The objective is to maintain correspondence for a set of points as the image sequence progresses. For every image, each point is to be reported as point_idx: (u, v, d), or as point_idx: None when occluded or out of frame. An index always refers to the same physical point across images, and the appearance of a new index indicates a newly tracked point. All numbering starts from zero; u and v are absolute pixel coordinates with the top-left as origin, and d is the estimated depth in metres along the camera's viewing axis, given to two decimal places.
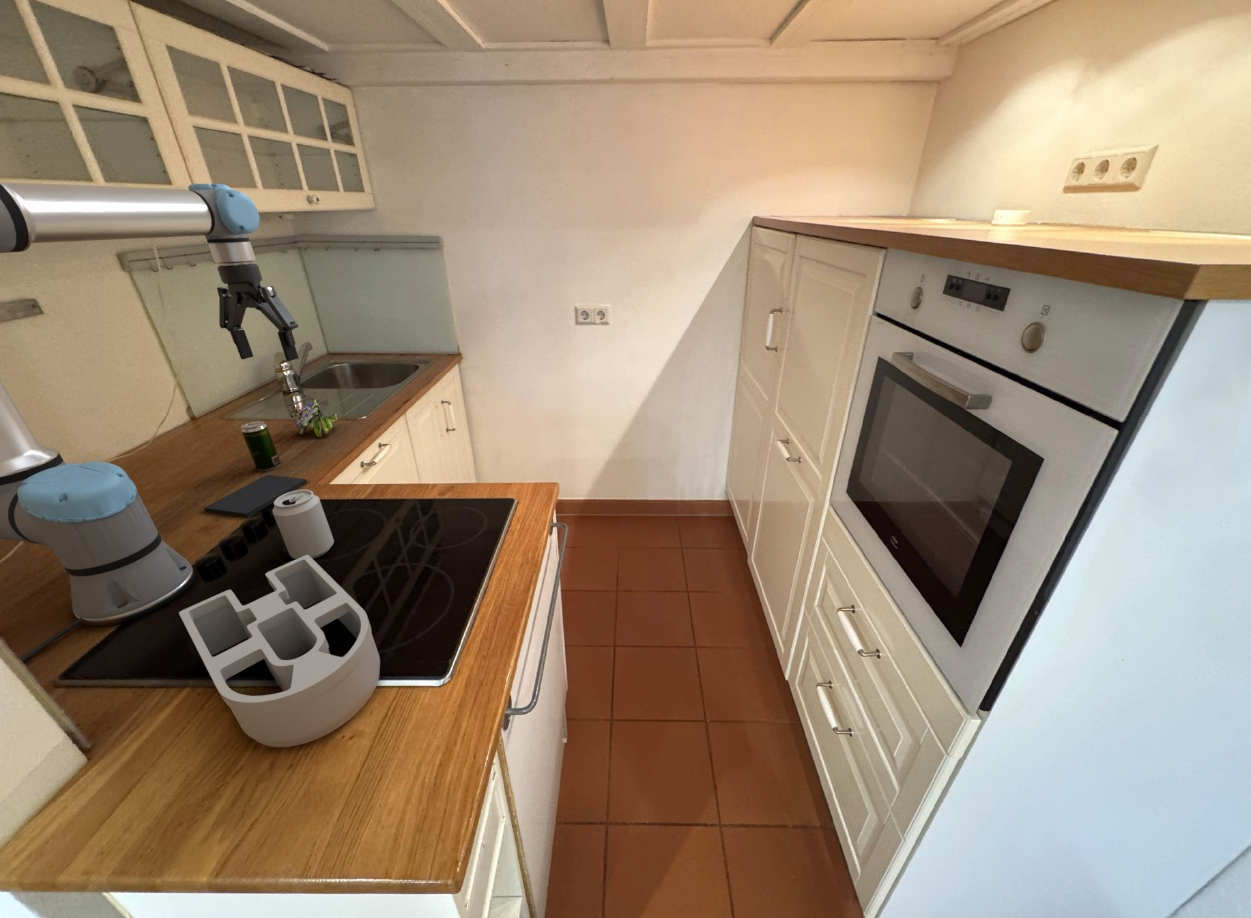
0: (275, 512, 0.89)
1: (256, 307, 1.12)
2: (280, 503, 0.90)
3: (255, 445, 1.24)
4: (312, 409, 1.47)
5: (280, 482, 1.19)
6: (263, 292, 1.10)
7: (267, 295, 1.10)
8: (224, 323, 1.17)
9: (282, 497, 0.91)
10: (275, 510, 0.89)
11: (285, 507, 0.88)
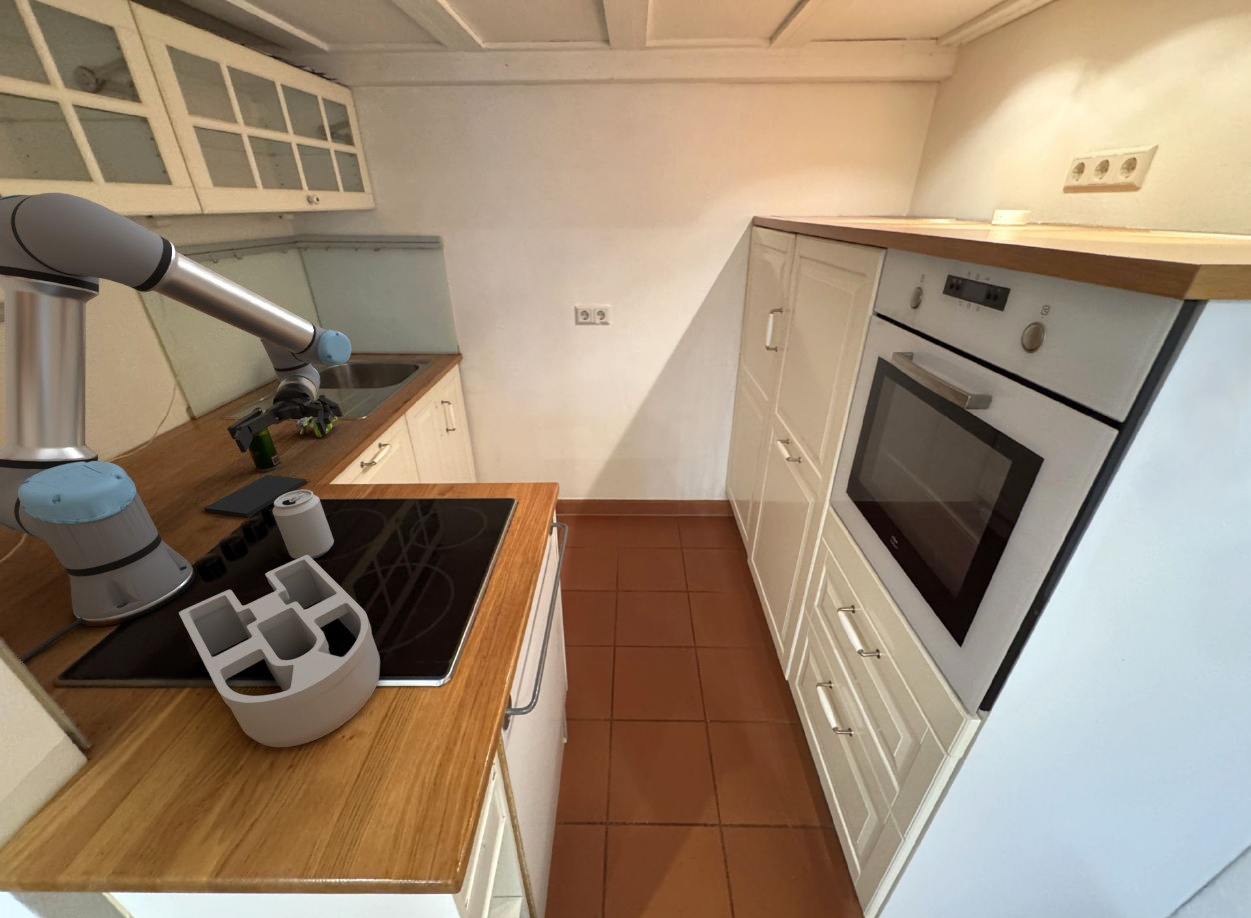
0: (275, 512, 0.89)
1: (304, 402, 1.06)
2: (280, 503, 0.90)
3: (255, 445, 1.24)
4: None
5: (280, 482, 1.19)
6: (321, 396, 1.09)
7: (324, 397, 1.09)
8: (236, 426, 0.99)
9: (282, 497, 0.91)
10: (275, 510, 0.89)
11: (285, 507, 0.88)
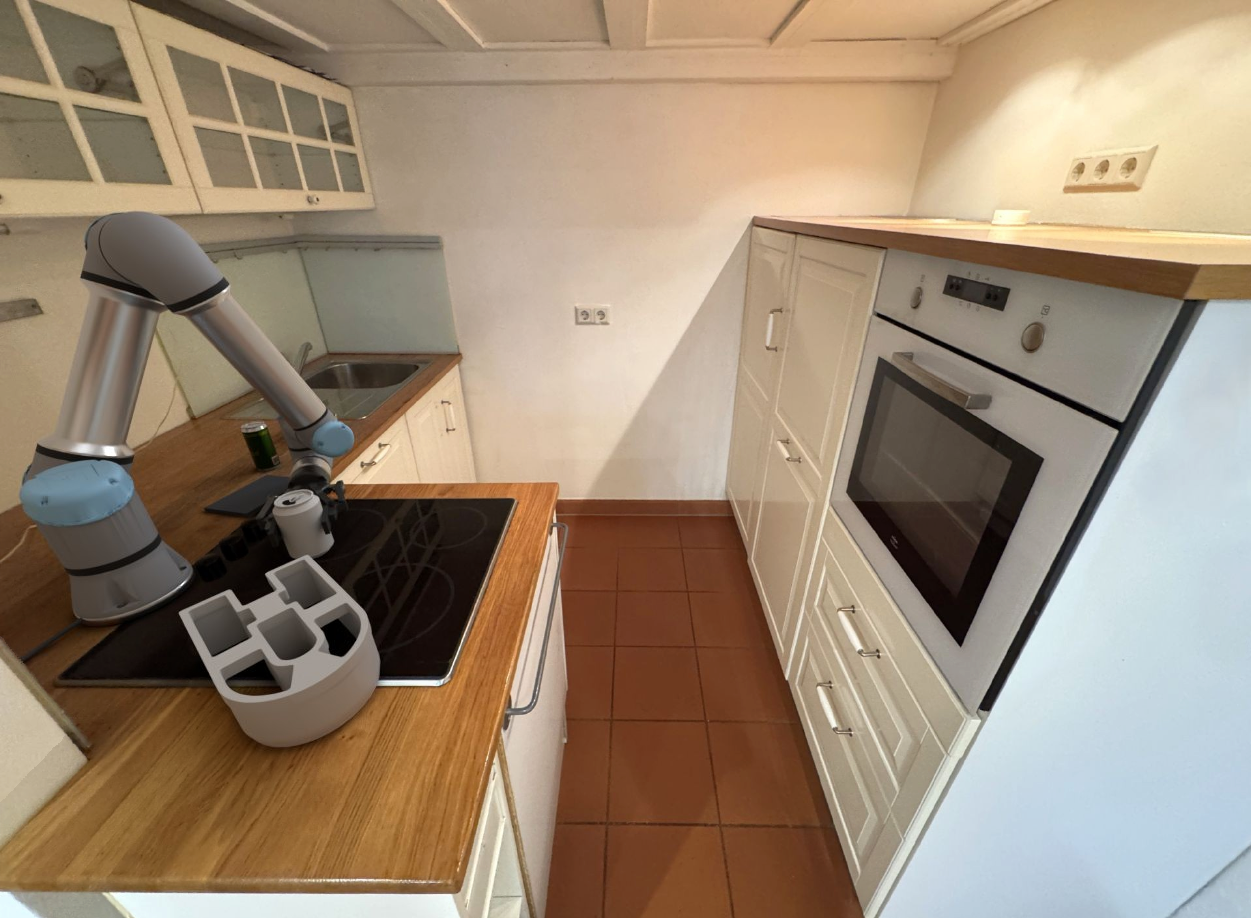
0: (275, 512, 0.89)
1: (317, 490, 1.00)
2: (280, 503, 0.90)
3: (255, 445, 1.24)
4: None
5: (280, 482, 1.19)
6: (338, 482, 1.04)
7: (340, 484, 1.03)
8: (265, 515, 0.93)
9: (282, 497, 0.91)
10: (275, 510, 0.89)
11: (285, 507, 0.88)
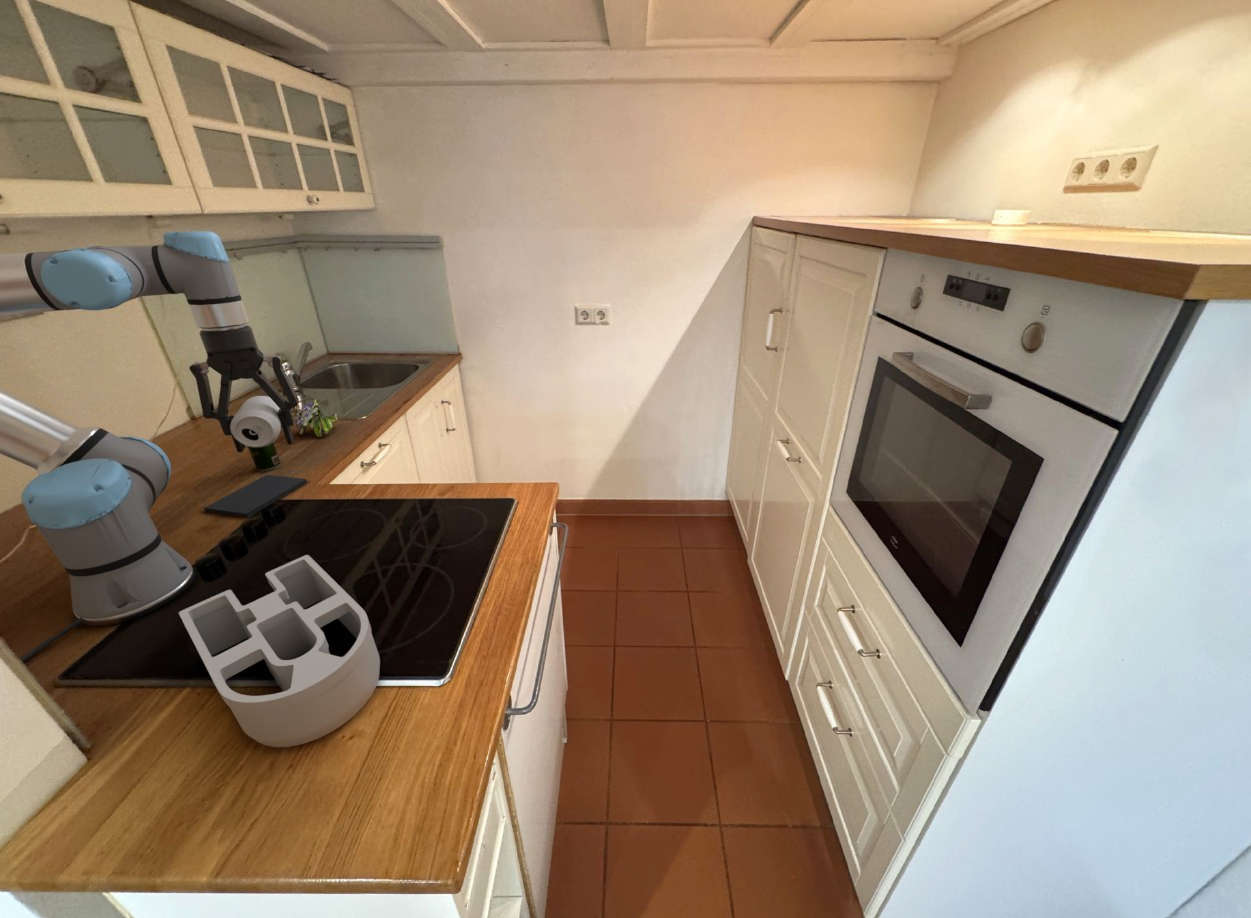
0: (238, 441, 0.92)
1: (256, 380, 0.92)
2: (240, 434, 0.91)
3: None
4: (312, 409, 1.47)
5: (280, 482, 1.19)
6: (275, 362, 0.92)
7: (279, 366, 0.93)
8: (210, 410, 0.91)
9: (237, 424, 0.90)
10: (238, 439, 0.92)
11: None
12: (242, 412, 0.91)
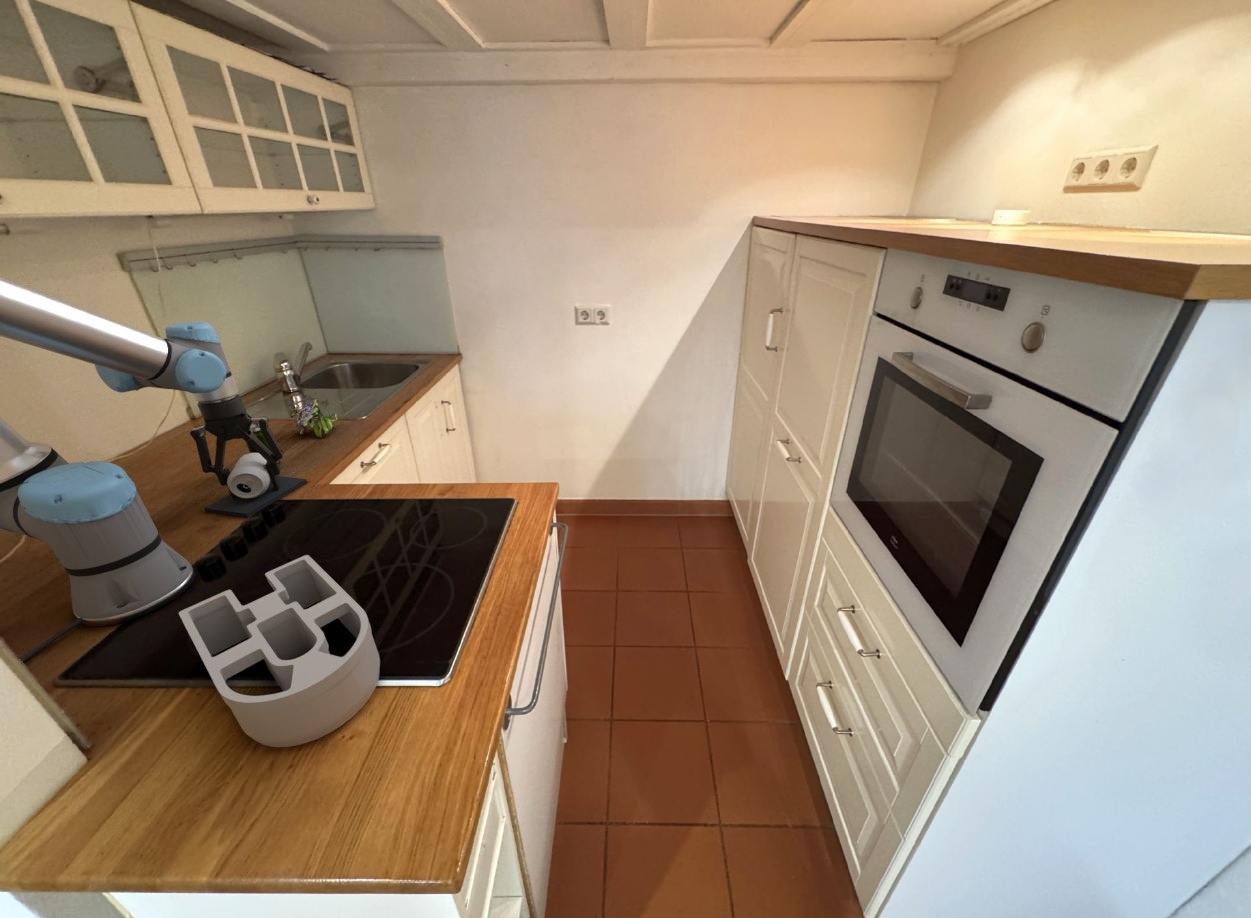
0: None
1: (246, 439, 1.09)
2: (236, 488, 1.09)
3: None
4: (312, 409, 1.47)
5: (280, 482, 1.19)
6: (261, 424, 1.10)
7: (265, 427, 1.10)
8: (208, 466, 1.08)
9: (232, 480, 1.08)
10: None
11: (246, 497, 1.11)
12: (236, 470, 1.09)
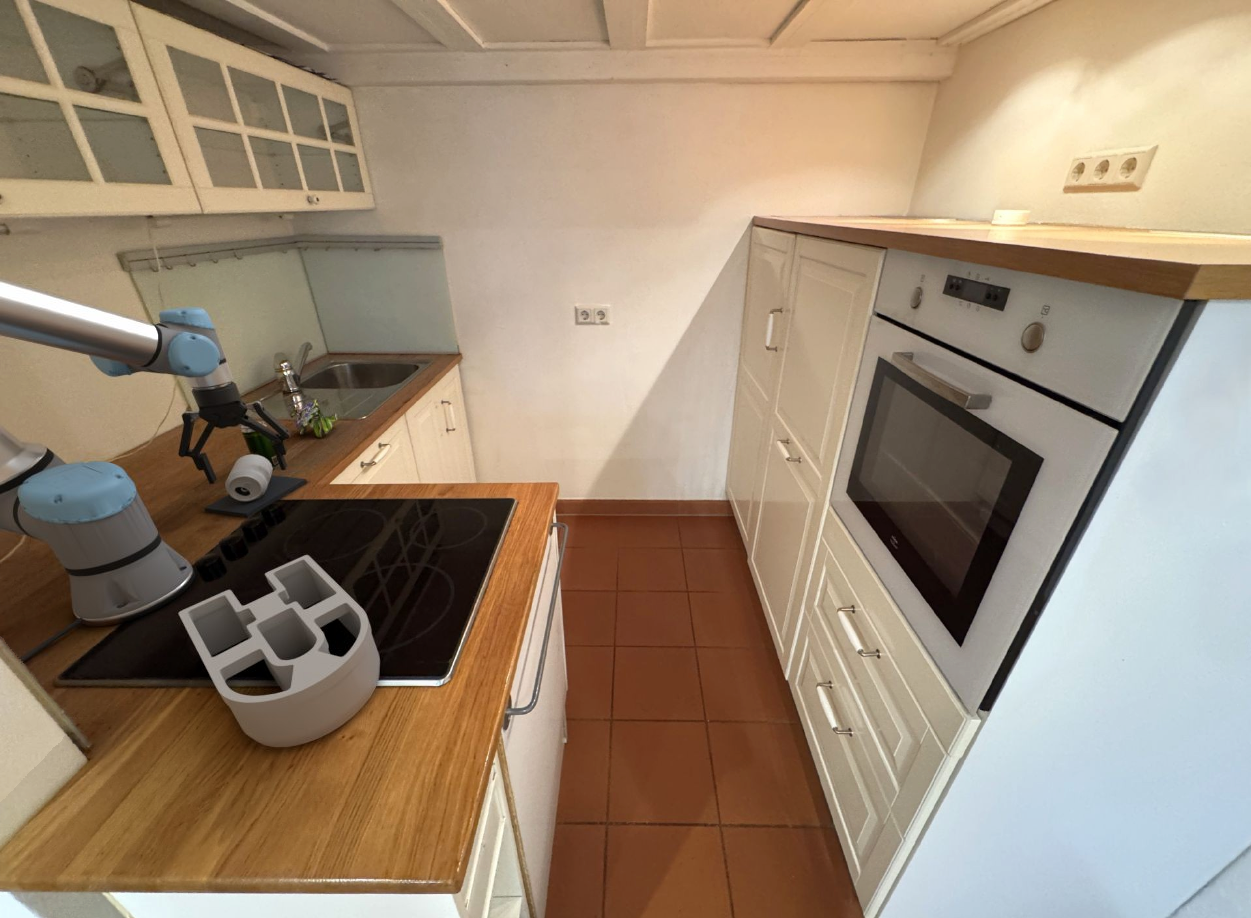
0: None
1: (245, 424, 1.08)
2: (234, 492, 1.09)
3: (255, 445, 1.24)
4: (312, 409, 1.47)
5: (280, 482, 1.19)
6: (256, 407, 1.08)
7: (261, 410, 1.09)
8: (186, 450, 1.06)
9: (230, 484, 1.08)
10: None
11: (246, 500, 1.11)
12: (232, 474, 1.09)
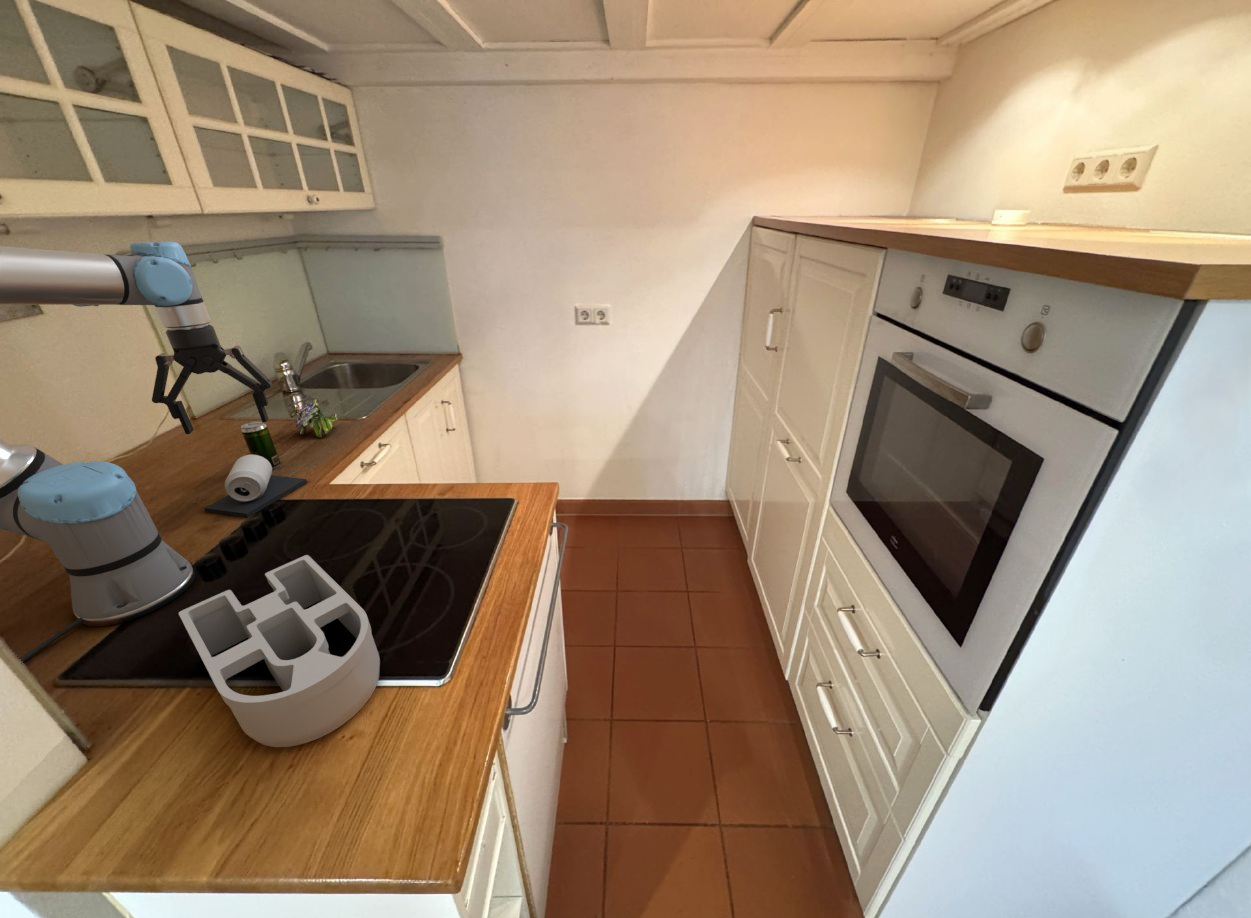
0: None
1: (224, 370, 1.03)
2: (234, 492, 1.09)
3: (255, 445, 1.24)
4: (312, 409, 1.47)
5: (280, 482, 1.19)
6: (235, 353, 1.03)
7: (240, 355, 1.03)
8: (160, 396, 1.00)
9: (229, 485, 1.08)
10: None
11: (246, 500, 1.11)
12: (231, 474, 1.09)
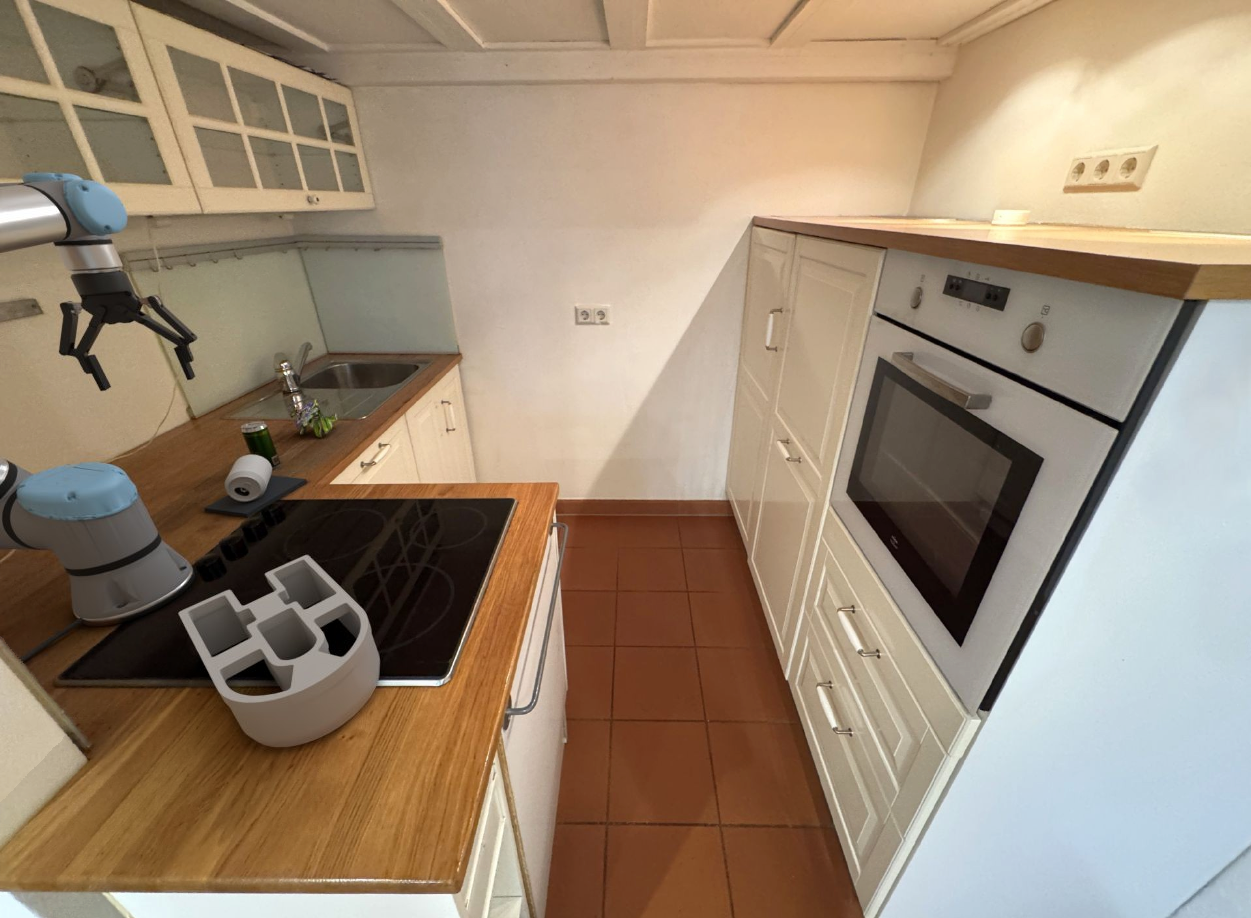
0: None
1: (139, 321, 0.94)
2: (234, 492, 1.09)
3: (255, 445, 1.24)
4: (312, 409, 1.47)
5: (280, 482, 1.19)
6: (151, 302, 0.95)
7: (158, 305, 0.95)
8: (68, 348, 0.92)
9: (229, 485, 1.08)
10: None
11: (246, 500, 1.11)
12: (231, 474, 1.09)
